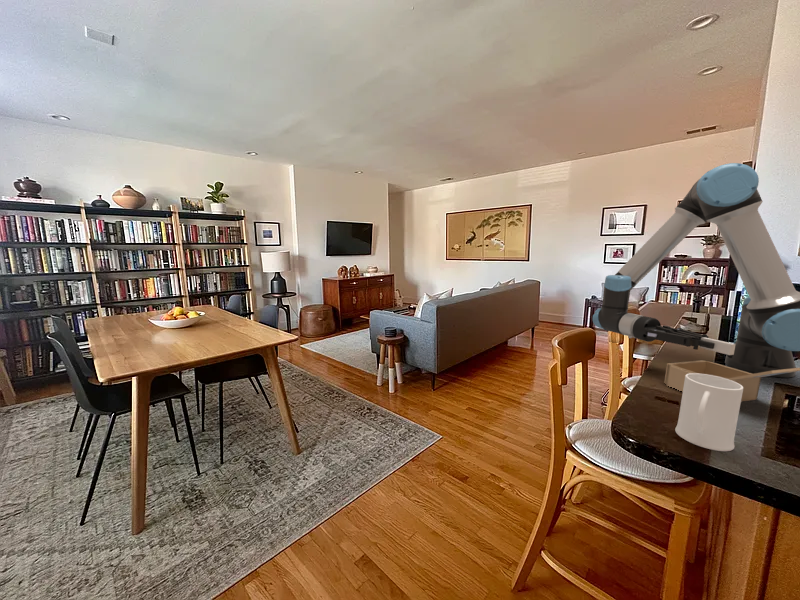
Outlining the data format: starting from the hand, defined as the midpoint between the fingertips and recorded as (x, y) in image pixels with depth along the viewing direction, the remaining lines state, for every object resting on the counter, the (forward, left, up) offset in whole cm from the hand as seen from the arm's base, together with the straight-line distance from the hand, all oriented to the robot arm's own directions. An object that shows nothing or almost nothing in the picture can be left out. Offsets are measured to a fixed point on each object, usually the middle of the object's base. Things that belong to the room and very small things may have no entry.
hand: (732, 349), depth 80 cm
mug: (+28, +13, -13) cm, 33 cm away
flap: (0, +2, -7) cm, 7 cm away
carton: (0, -3, -13) cm, 13 cm away
